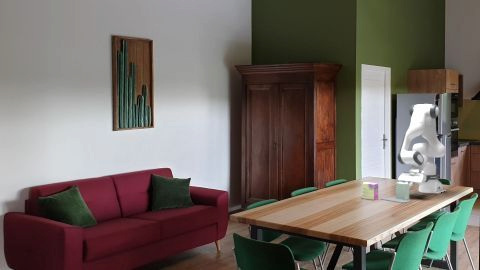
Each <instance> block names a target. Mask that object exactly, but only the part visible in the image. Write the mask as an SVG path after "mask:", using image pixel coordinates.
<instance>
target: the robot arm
mask: <svg viewBox="0 0 480 270" xmlns="http://www.w3.org/2000/svg"><path fill="white" fill-rule="evenodd" d="M408 113H409V116H410V117H411V119H410V122H409V123H410V124H409V127H408V129H407V131H406V132H405V133H404V136H403V139H402V143H401V146H400V149H399V151H398V154H397V157H396V158H397V161H398V162H399V163H400V164H401V165H411V167H410V169H409V170H408V172H406V171H404V172H402V173H400V175H399V177H398V179H397V180H398V182H403V183H409V189H410V188H411V187H412V186H414V185H416V186H418V188H417V191H418V192H419V193H423V194H442V193H445V192H446V191H447V190H446V189H443V187H444V186H443V184H442V182H441V181H440V180H438V178H439V177H440V174H437V164H436V163H435V162H433V161H432V160H430V158H441V157H444V156H445V155H446V152H447V149H446V146H445V145H444V144H443V143H442V142H440V140H439V138H438V136H437V122H436V118H437V117H438V116H439V115H440V114H439V113H440V109H439V106H438V105H437V104H434V103H432V104H431V103H430V104H429V103H424V104H423V103H422V104H412V105H411V106H410V107H409V111H408ZM419 136H421V137H422V138H423V139H425V140H426V141H427V142H419V143H415V144H413V146H412V150H409V148H410V145H411V142H412V140H414V139H415V138H417V137H419ZM444 191H445V192H444ZM441 192H442V193H441Z"/></svg>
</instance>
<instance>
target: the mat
mask: <svg viewBox="0 0 480 270" xmlns="http://www.w3.org/2000/svg"><path fill="white" fill-rule="evenodd" d="M380 200H381V201H388V202H393V203H401V204H405V203H406V204H407V203H411V202H412V201H411V200H402V199H396V197H390V196H389V197H382V198H380Z"/></svg>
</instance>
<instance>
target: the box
mask: <svg viewBox="0 0 480 270" xmlns="http://www.w3.org/2000/svg"><path fill="white" fill-rule="evenodd" d="M361 192H362V193H361V195H362V196H361V197H362V198H361V199H364V200H365V199H366V200H371V201H377V200H379V183H375V182H368V181H367V182H362V187H361Z"/></svg>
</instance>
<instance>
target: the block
mask: <svg viewBox="0 0 480 270" xmlns="http://www.w3.org/2000/svg"><path fill="white" fill-rule="evenodd" d="M395 199H402V200H408V201H410V188H409V183H403V182H399V181H398V182H395Z"/></svg>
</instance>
